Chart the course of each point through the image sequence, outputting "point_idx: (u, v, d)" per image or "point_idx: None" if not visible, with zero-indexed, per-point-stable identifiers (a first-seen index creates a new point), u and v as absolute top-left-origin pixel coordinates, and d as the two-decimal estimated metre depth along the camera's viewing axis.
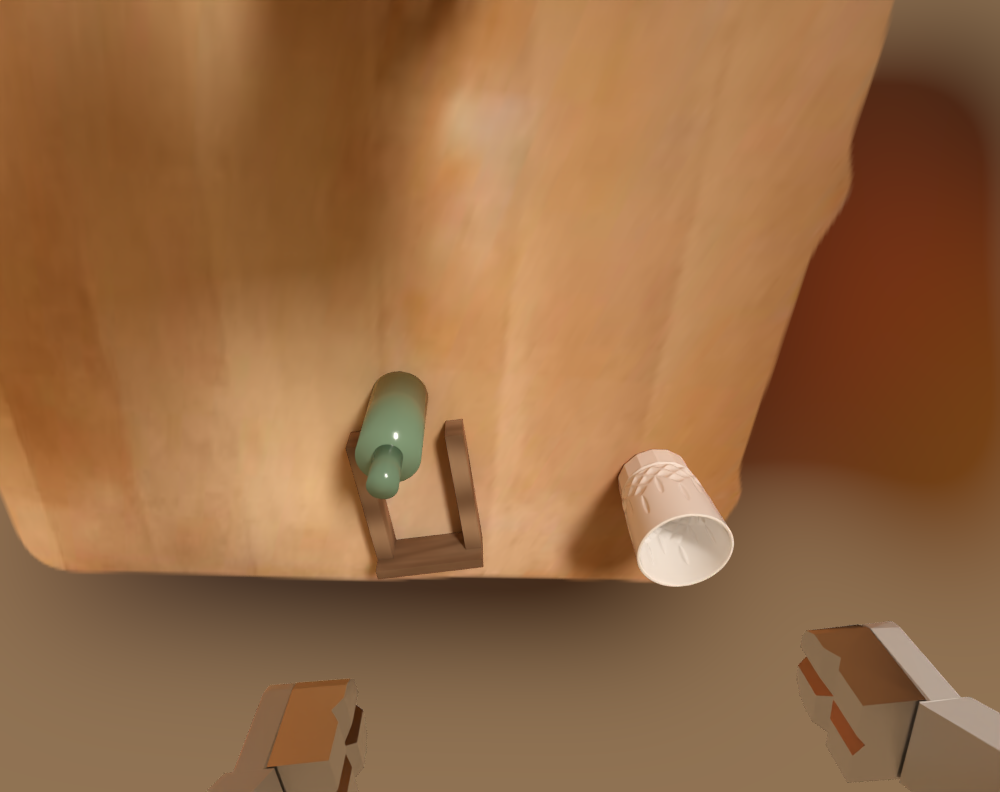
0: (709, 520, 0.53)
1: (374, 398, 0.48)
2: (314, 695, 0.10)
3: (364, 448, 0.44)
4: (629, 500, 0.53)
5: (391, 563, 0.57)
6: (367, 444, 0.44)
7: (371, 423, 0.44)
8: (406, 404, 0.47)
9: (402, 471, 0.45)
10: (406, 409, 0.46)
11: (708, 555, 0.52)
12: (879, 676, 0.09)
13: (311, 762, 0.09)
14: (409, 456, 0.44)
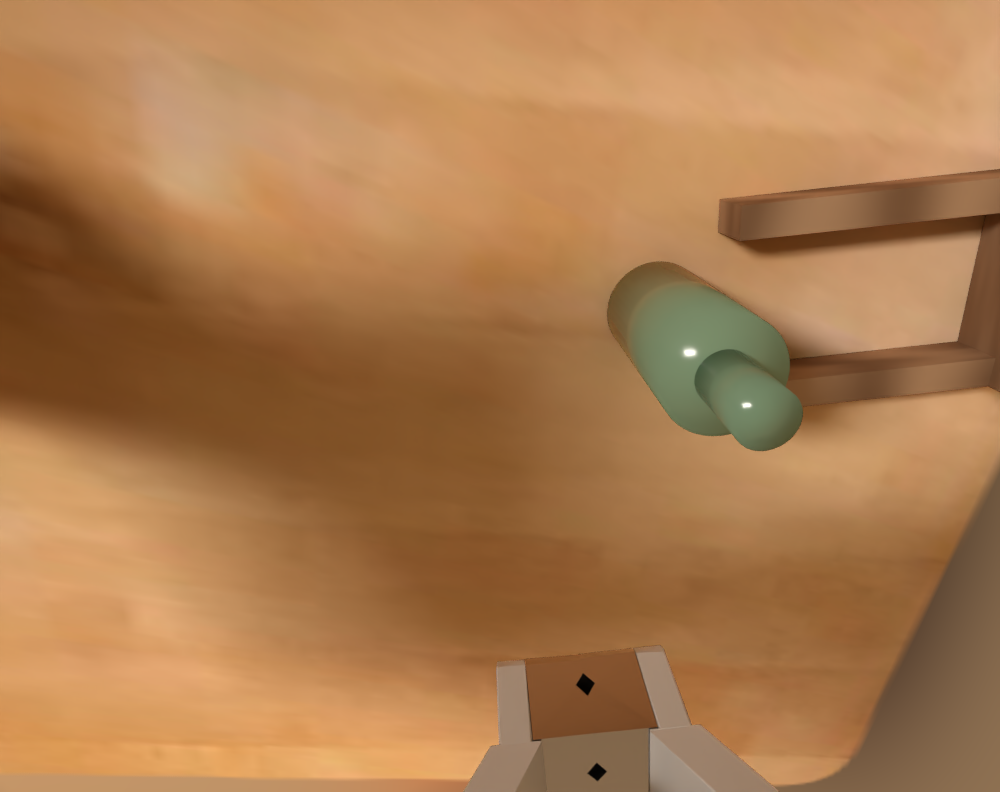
0: None
1: None
2: (551, 670, 0.10)
3: (696, 418, 0.23)
4: None
5: None
6: (688, 412, 0.23)
7: (653, 392, 0.24)
8: (642, 317, 0.25)
9: (765, 353, 0.22)
10: (647, 319, 0.24)
11: None
12: (623, 703, 0.09)
13: (573, 735, 0.09)
14: (732, 336, 0.21)
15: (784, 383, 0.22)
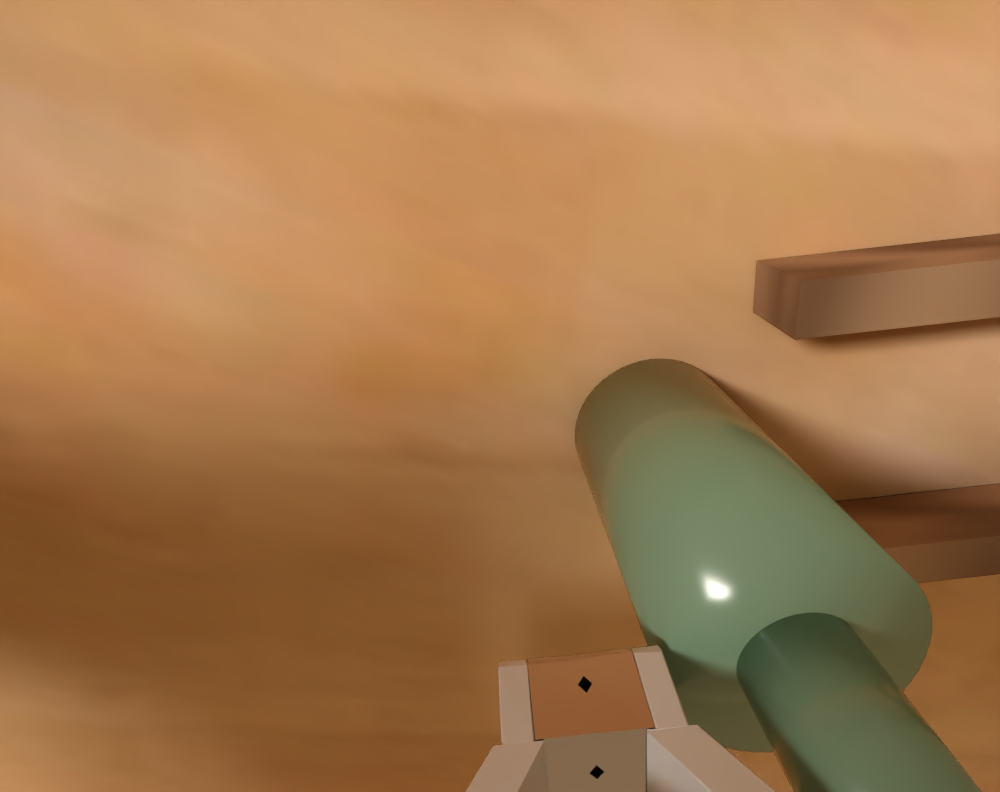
0: None
1: None
2: (553, 670, 0.10)
3: (738, 726, 0.11)
4: None
5: None
6: (723, 717, 0.11)
7: None
8: (629, 490, 0.14)
9: (884, 616, 0.10)
10: (639, 501, 0.13)
11: None
12: (620, 704, 0.09)
13: (576, 735, 0.09)
14: (817, 591, 0.10)
15: (916, 664, 0.11)
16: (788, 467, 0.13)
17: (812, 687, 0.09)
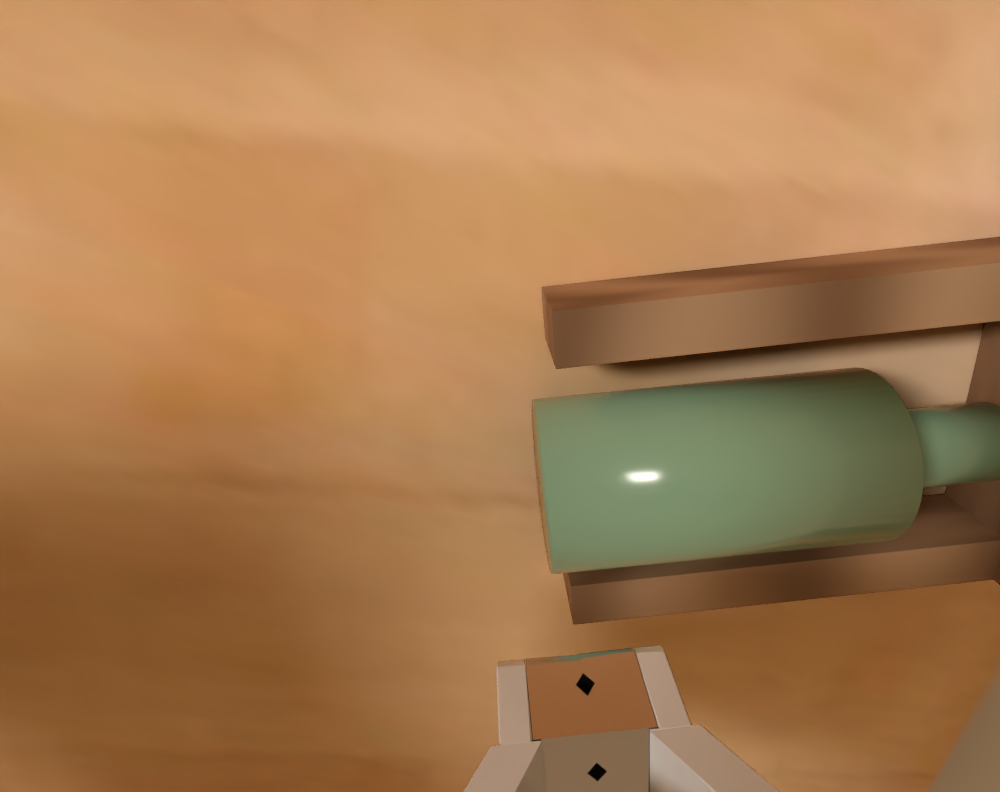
0: None
1: (687, 556, 0.16)
2: (551, 671, 0.10)
3: None
4: None
5: None
6: None
7: (861, 531, 0.15)
8: (757, 460, 0.15)
9: None
10: (782, 453, 0.15)
11: None
12: (623, 704, 0.09)
13: (574, 735, 0.09)
14: None
15: None
16: None
17: (928, 427, 0.16)
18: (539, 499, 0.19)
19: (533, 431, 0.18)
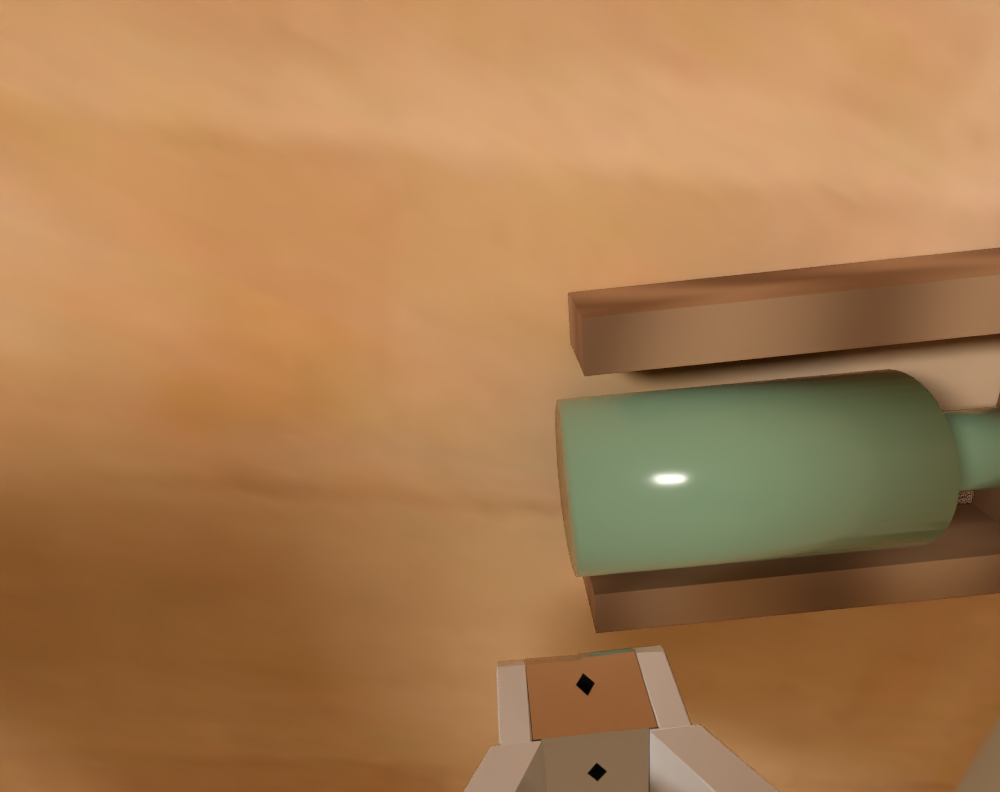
0: None
1: (717, 557, 0.15)
2: (552, 671, 0.10)
3: None
4: None
5: None
6: None
7: (897, 531, 0.15)
8: (788, 454, 0.14)
9: None
10: (813, 448, 0.14)
11: None
12: (623, 703, 0.09)
13: (574, 735, 0.09)
14: None
15: None
16: (775, 380, 0.17)
17: (960, 427, 0.16)
18: (562, 506, 0.18)
19: (556, 436, 0.18)
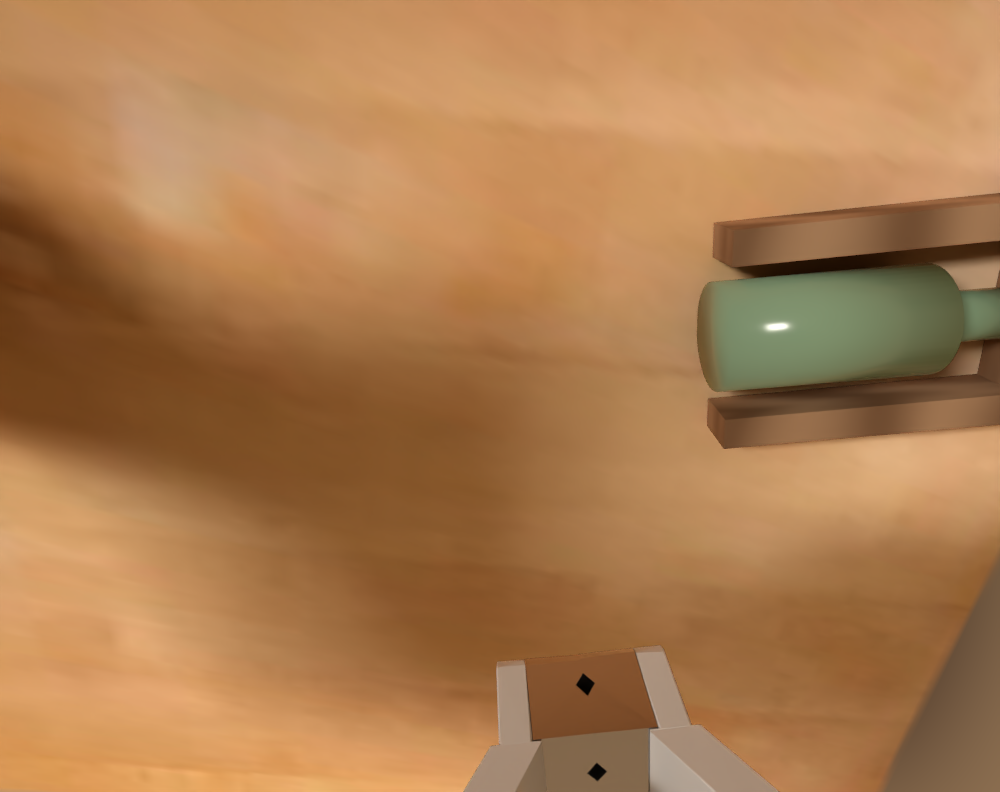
0: None
1: (815, 367, 0.25)
2: (552, 670, 0.10)
3: None
4: None
5: None
6: None
7: (928, 348, 0.24)
8: (857, 297, 0.24)
9: None
10: (872, 294, 0.24)
11: None
12: (623, 703, 0.09)
13: (574, 735, 0.09)
14: None
15: None
16: None
17: (964, 295, 0.25)
18: (703, 365, 0.28)
19: (699, 318, 0.28)
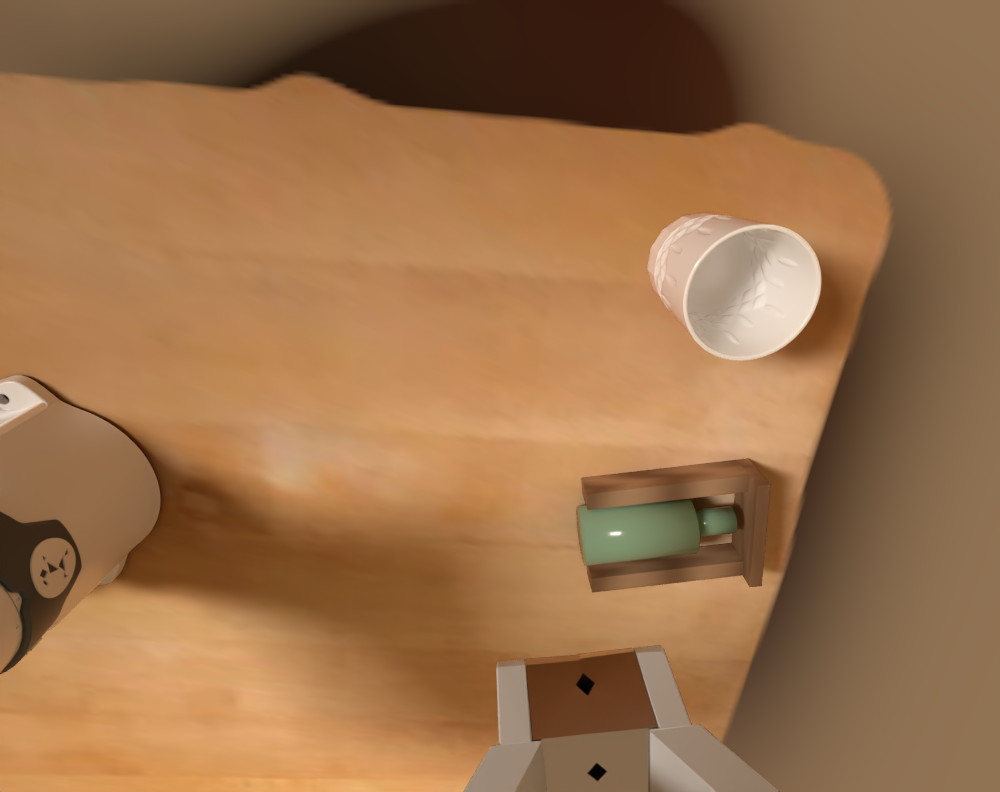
0: None
1: (630, 553, 0.48)
2: (552, 670, 0.10)
3: None
4: None
5: (746, 567, 0.51)
6: None
7: (684, 543, 0.48)
8: (646, 518, 0.48)
9: None
10: (654, 515, 0.48)
11: (784, 239, 0.35)
12: (623, 703, 0.09)
13: (574, 735, 0.09)
14: None
15: None
16: None
17: (706, 512, 0.49)
18: (580, 548, 0.51)
19: (577, 521, 0.52)
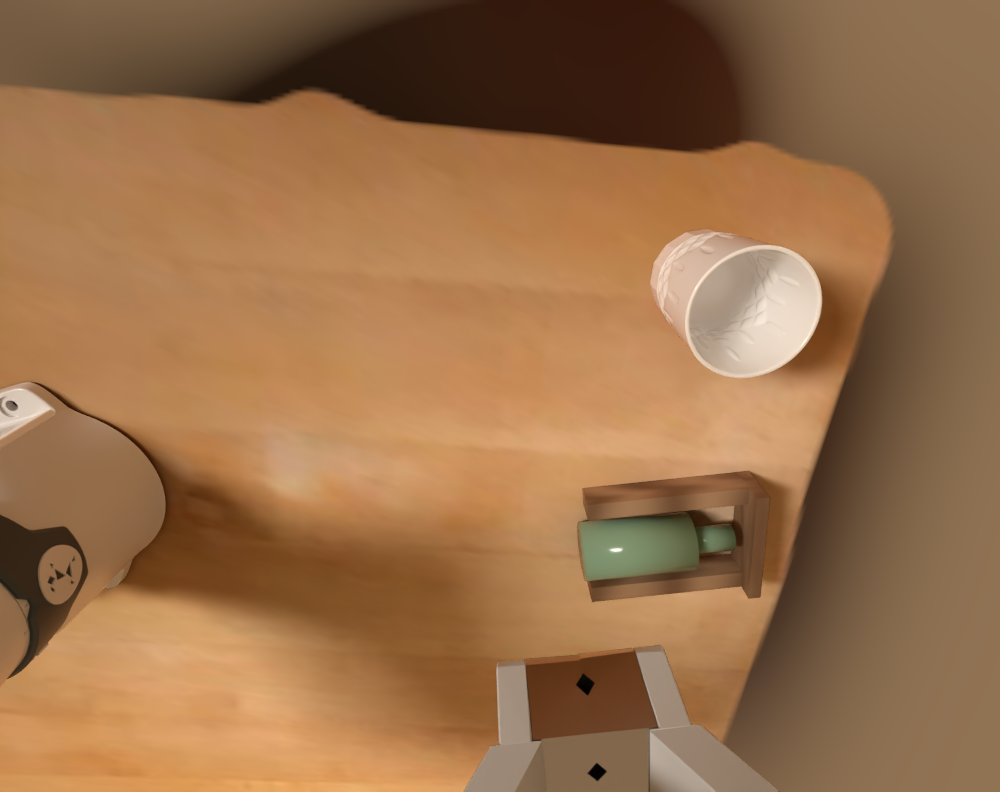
0: None
1: (629, 574, 0.49)
2: (552, 671, 0.10)
3: None
4: None
5: (745, 578, 0.51)
6: None
7: (683, 565, 0.49)
8: (648, 542, 0.48)
9: None
10: (655, 540, 0.48)
11: (786, 259, 0.35)
12: (623, 703, 0.09)
13: (574, 735, 0.09)
14: None
15: None
16: (650, 515, 0.51)
17: (706, 532, 0.50)
18: (580, 557, 0.52)
19: (578, 532, 0.52)
